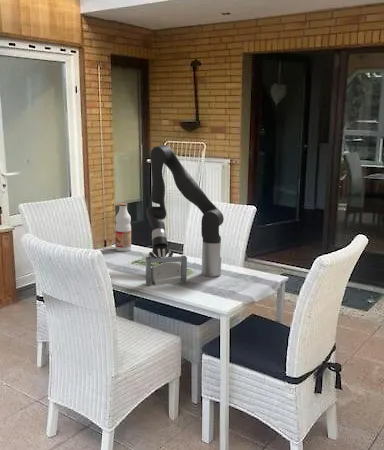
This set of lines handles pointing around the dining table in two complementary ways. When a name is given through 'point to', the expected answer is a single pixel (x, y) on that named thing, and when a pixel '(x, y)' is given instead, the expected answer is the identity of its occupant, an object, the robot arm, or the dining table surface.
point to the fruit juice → (123, 229)
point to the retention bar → (166, 259)
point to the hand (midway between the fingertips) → (162, 269)
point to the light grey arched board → (166, 273)
